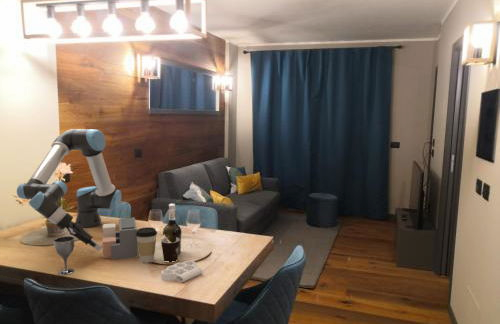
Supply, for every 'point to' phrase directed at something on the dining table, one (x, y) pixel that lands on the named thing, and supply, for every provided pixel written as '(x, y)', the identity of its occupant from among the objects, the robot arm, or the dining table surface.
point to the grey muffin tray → (181, 271)
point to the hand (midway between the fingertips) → (100, 249)
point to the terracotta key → (108, 246)
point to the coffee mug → (170, 250)
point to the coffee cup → (146, 243)
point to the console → (125, 240)
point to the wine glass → (64, 251)
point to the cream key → (109, 230)
